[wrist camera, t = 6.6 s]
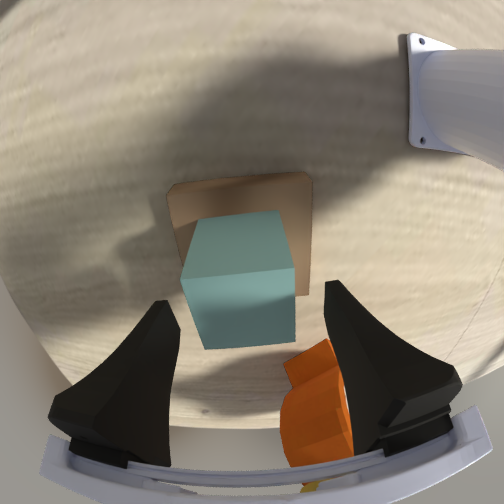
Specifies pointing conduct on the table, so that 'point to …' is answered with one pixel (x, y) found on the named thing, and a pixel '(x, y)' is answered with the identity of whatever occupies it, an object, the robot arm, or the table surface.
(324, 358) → the alarm clock
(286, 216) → the walnut slab
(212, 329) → the teal block
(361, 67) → the table surface
